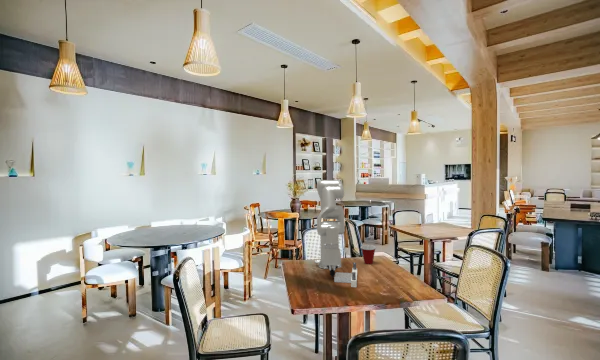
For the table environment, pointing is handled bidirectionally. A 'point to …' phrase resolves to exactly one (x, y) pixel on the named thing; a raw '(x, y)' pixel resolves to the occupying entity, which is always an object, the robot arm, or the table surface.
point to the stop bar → (354, 276)
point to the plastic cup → (368, 253)
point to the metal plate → (343, 277)
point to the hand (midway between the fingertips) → (332, 276)
